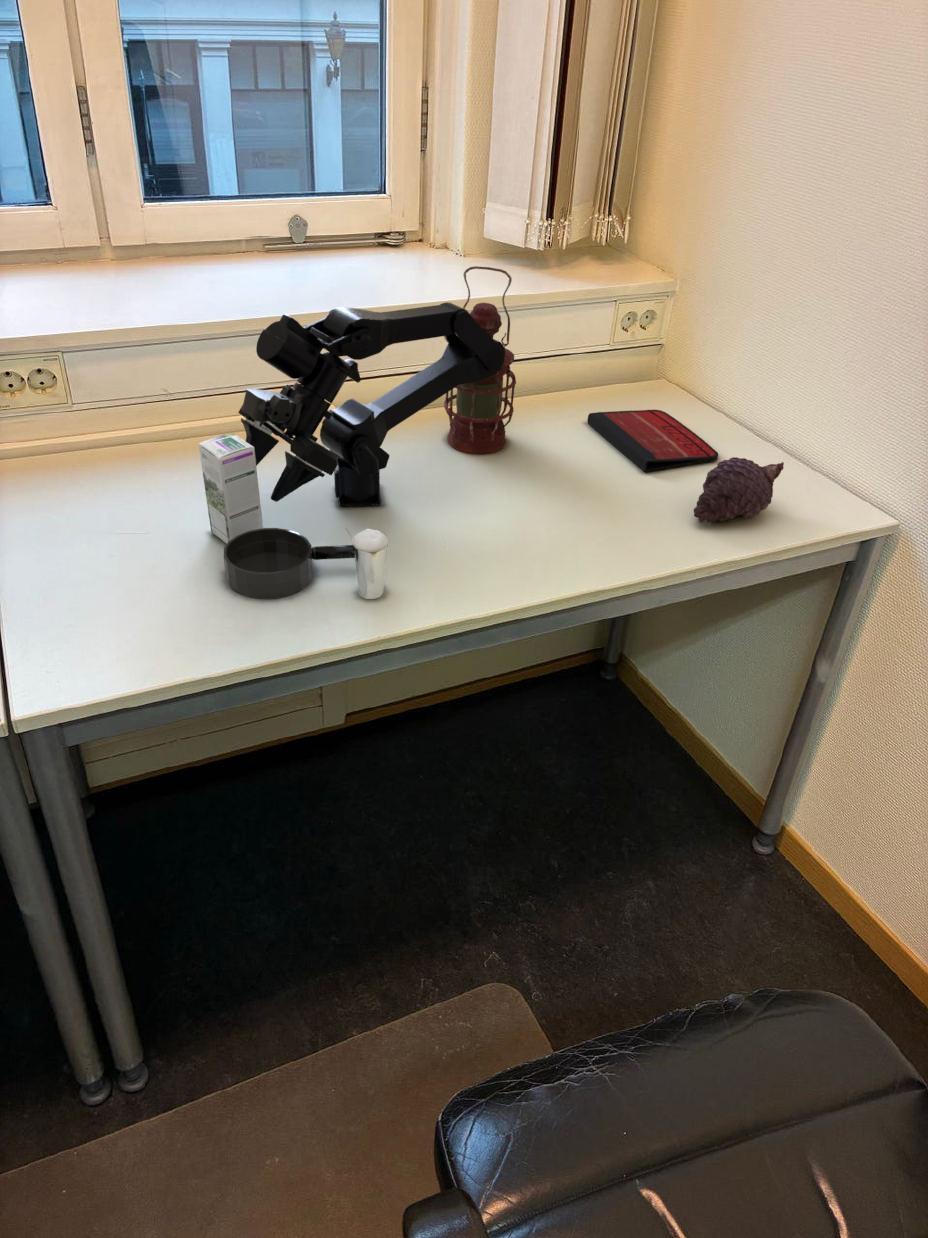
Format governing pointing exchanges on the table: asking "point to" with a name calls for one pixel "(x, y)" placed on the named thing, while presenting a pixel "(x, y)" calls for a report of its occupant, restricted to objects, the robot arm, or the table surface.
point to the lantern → (482, 393)
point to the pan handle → (332, 552)
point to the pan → (268, 563)
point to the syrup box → (230, 486)
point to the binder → (652, 438)
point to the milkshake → (370, 562)
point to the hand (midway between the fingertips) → (257, 487)
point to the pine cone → (736, 490)
